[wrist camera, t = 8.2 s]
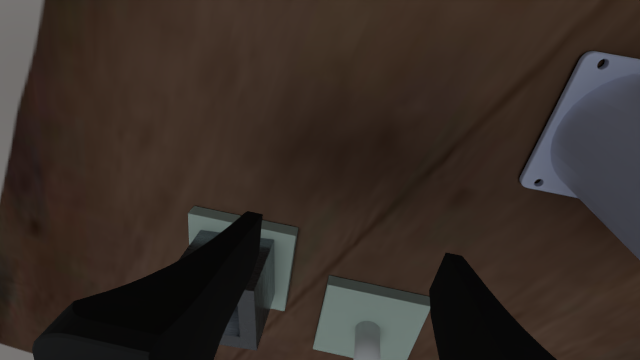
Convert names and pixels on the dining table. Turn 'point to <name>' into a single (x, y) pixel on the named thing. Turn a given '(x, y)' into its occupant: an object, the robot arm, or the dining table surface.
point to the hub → (247, 296)
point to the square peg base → (269, 230)
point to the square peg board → (369, 320)
